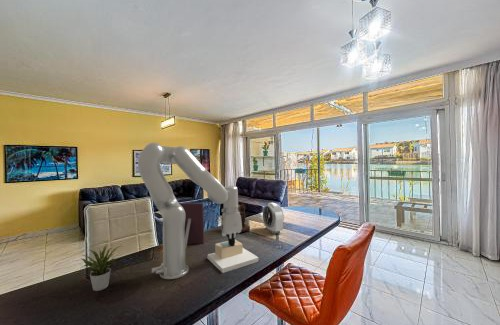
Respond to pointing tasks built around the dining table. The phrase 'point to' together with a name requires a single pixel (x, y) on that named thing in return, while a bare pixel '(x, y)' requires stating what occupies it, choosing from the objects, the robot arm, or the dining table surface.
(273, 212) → the alarm clock
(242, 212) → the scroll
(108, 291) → the dining table surface
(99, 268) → the house plant
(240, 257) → the display podium
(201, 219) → the picture frame
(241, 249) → the carton
